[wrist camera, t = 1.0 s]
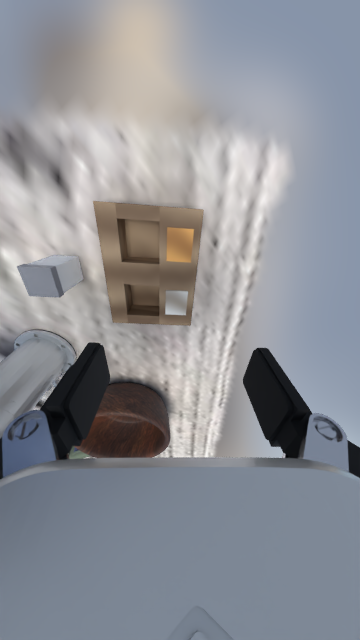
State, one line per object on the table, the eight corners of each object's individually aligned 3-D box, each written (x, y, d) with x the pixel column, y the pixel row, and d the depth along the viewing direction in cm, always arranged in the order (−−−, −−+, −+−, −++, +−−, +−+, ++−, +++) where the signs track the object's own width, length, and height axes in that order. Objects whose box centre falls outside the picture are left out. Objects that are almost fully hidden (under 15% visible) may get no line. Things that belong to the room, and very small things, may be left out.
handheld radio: (58, 443, 64) (109, 423, 57) (66, 446, 65) (116, 427, 59) (48, 466, 58) (102, 446, 52) (56, 469, 60) (110, 450, 53)
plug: (84, 279, 32) (59, 297, 25) (60, 278, 32) (29, 295, 25) (78, 255, 30) (50, 268, 23) (53, 254, 29) (16, 266, 23)
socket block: (188, 312, 36) (190, 326, 31) (120, 309, 35) (112, 323, 31) (199, 210, 27) (204, 209, 22) (106, 203, 26) (92, 200, 21)
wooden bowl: (184, 412, 55) (186, 449, 46) (120, 432, 60) (111, 469, 52) (141, 362, 43) (133, 400, 34) (66, 392, 48) (42, 431, 40)
